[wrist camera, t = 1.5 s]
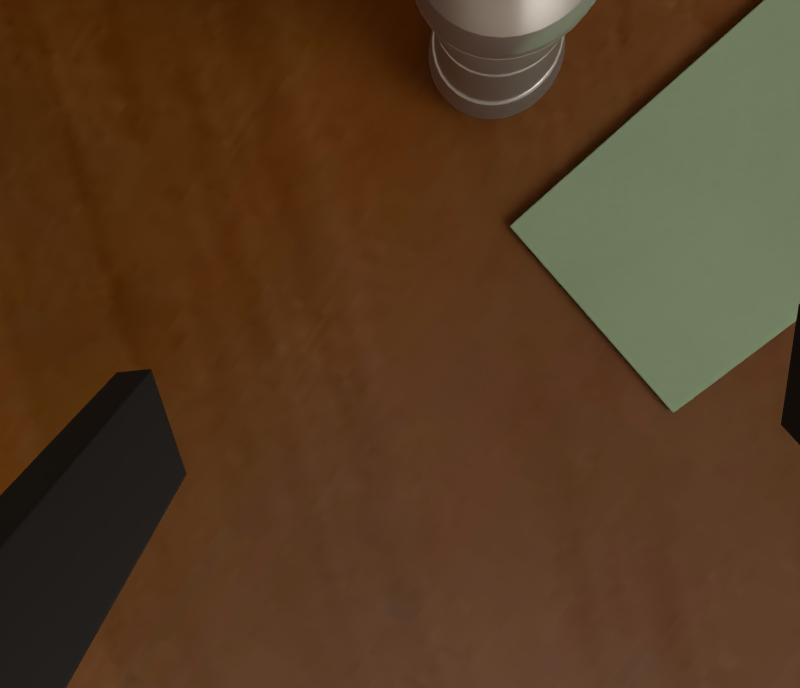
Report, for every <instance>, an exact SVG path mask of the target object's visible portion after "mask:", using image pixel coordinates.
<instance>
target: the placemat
mask: <svg viewBox="0 0 800 688" xmlns="http://www.w3.org/2000/svg"><path fill="white" fill-rule="evenodd" d="M510 228H511V229H512V230H513V231H514V232H515V233H516V234H517V236H518V237H519V238H520V239H521V240H522V241H523V242H524V244H525V245H526V246H527V247H528V248H529V249H530V250H531V252H532V253H533V254H534V255H535V256H536V257H537V258H538V260H539V261H540V262H541V263H542V264H543V265H544V266H545V268H546V269H547V270H548V271H549V272H550V273H551V274H552V276H553V277H554V278H555V279H556V280H557V281H558V282H559V284H560V285H561V286H562V287H563V288H564V289H565V290H566V292H567V293H568V294H569V295H570V296H571V297H572V298H573V300H574V301H575V302H576V303H577V304H578V305H579V306H580V308H581V309H582V310H583V311H584V312H585V313H586V314H587V316H588V317H589V318H590V319H591V320H592V321H593V322H594V324H595V325H596V326H597V327H598V328H599V329H600V330H601V332H602V333H603V334H604V335H605V336H606V337H607V338H608V340H609V341H610V342H611V343H612V344H613V345H614V346H615V348H616V349H617V350H618V351H619V352H620V353H621V354H622V356H623V357H624V358H625V359H626V360H627V361H628V362H629V364H630V365H631V366H632V367H633V368H634V369H635V370H636V372H637V373H638V374H639V375H640V376H641V377H642V378H643V380H644V381H645V382H646V383H647V384H648V385H649V386H650V388H651V389H652V390H653V391H654V392H655V393H656V394H657V396H658V397H659V398H660V399H661V400H662V401H663V402H664V404H665V405H666V406H667V407H668V408H669V409H670V410H671V411H672V412H673V413H674V412H675V411H676V410H678V409H679V408H680V407H682V406H683V405H684V404H686V403H687V402H688V401H690V400H691V399H692V398H694V397H695V396H696V395H698V394H699V393H700V392H702V391H703V390H704V389H706V388H707V387H708V386H710V385H711V384H712V383H714V382H715V381H716V380H718V379H719V378H720V377H722V376H723V375H724V374H726V373H727V372H728V371H730V370H731V369H732V368H734V367H735V366H736V365H738V364H739V363H740V362H742V361H743V360H744V359H746V358H747V357H748V356H750V355H751V354H752V353H754V352H755V351H756V350H758V349H759V348H760V347H762V346H763V345H764V344H766V343H767V342H768V341H770V340H771V339H772V338H774V337H775V336H776V335H778V334H779V333H780V332H782V331H783V330H784V329H786V328H787V327H788V326H790V325H791V324H792V323H794V322H795V321H796V319H797V312H798V306H799V304H800V0H763V1H762V2H761V3H760V4H759V5H757V6H756V7H755V8H754V9H753V10H752V11H751V12H750V13H748V14H747V15H746V16H745V17H744V18H743V19H742V20H741V21H739V22H738V23H737V24H736V25H735V26H734V27H733V28H732V29H730V30H729V31H728V32H727V33H726V34H725V35H724V36H723V37H721V38H720V39H719V40H718V41H717V42H716V43H715V44H714V45H712V46H711V47H710V48H709V49H708V50H707V51H706V52H705V53H703V54H702V55H701V56H700V57H699V58H698V59H697V60H696V61H694V62H693V63H692V64H691V65H690V66H689V67H688V68H686V69H685V70H684V71H683V72H682V73H681V74H680V75H679V76H677V77H676V78H675V79H674V80H673V81H672V82H671V83H670V84H668V85H667V86H666V87H665V88H664V89H663V90H662V91H661V92H659V93H658V94H657V95H656V96H655V97H654V98H653V99H652V100H650V101H649V102H648V103H647V104H646V105H645V106H644V107H643V108H641V109H640V110H639V111H638V112H637V113H636V114H635V115H634V116H632V117H631V118H630V119H629V120H628V121H627V122H626V123H625V124H623V125H622V126H621V127H620V128H619V129H618V130H617V131H616V132H614V133H613V134H612V135H611V136H610V137H609V138H608V139H607V140H605V141H604V142H603V143H602V144H601V145H600V146H599V147H598V148H596V149H595V150H594V151H593V152H592V153H591V154H590V155H589V156H587V157H586V158H585V159H584V160H583V161H582V162H581V163H580V164H578V165H577V166H576V167H575V168H574V169H573V170H572V171H571V172H569V173H568V174H567V175H566V176H565V177H564V178H563V179H562V180H560V181H559V182H558V183H557V184H556V185H555V186H554V187H553V188H551V189H550V190H549V191H548V192H547V193H546V194H545V195H544V196H542V197H541V198H540V199H539V200H538V201H537V202H536V203H535V204H533V205H532V206H531V207H530V208H529V209H528V210H527V211H526V212H524V213H523V214H522V215H521V216H520V217H519V218H518V219H517V220H515V221H514V222H513V223H512V224H511V225H510Z"/></svg>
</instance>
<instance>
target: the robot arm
mask: <svg viewBox="0 0 800 688" xmlns="http://www.w3.org/2000/svg"><path fill="white" fill-rule="evenodd" d="M781 425H782V426H783V427H784V428H785V429H786V430H787V432H788V433H789V434H790V435H791V436H792V437H793V438H794V439H795V440H796V441H797V442H798V444H799V445H800V304H799V306H798V312H797V319H796V326H795V333H794V340H793V346H792V353H791V360H790V367H789V374H788V380H787V387H786V394H785V401H784V408H783V414H782V421H781ZM185 476H186V471H185V469H184V466H183V463H182V460H181V457H180V454H179V451H178V448H177V445H176V442H175V439H174V436H173V433H172V430H171V427H170V424H169V421H168V418H167V415H166V412H165V409H164V406H163V403H162V400H161V397H160V394H159V392H158V389H157V386H156V383H155V380H154V377H153V374H152V371H151V369H148V370H138V371H128V372H118V373H116V374H115V375H114V376H113V377H112V378H111V379H110V380H109V381H108V382H107V384H106V385H105V386H104V387H103V388H102V389H101V390H100V391H99V392H98V393H97V394H96V395H95V396H94V397H93V398H92V399H91V400H90V401H89V403H88V404H87V405H86V406H85V407H84V408H83V409H82V410H81V411H80V412H79V413H78V414H77V415H76V416H75V417H74V418H73V419H72V421H71V422H70V423H69V424H68V425H67V426H66V427H65V428H64V429H63V430H62V431H61V432H60V433H59V434H58V435H57V436H56V437H55V439H54V440H53V441H52V442H51V443H50V444H49V445H48V446H47V447H46V448H45V449H44V450H43V451H42V452H41V453H40V454H39V455H38V456H37V458H36V459H35V460H34V461H33V462H32V463H31V464H30V465H29V466H28V467H27V468H26V469H25V470H24V471H23V472H22V473H21V474H20V476H19V477H18V478H17V479H16V480H15V481H14V482H13V483H12V484H11V485H10V486H9V487H8V488H7V489H6V490H5V491H4V492H3V493H2V495H1V496H0V688H66V687H67V685H68V683H69V682H70V680H71V678H72V676H73V674H74V673H75V671H76V669H77V667H78V666H79V664H80V662H81V660H82V658H83V657H84V655H85V653H86V651H87V650H88V648H89V646H90V644H91V642H92V641H93V639H94V637H95V635H96V634H97V632H98V630H99V628H100V626H101V625H102V623H103V621H104V619H105V618H106V616H107V614H108V612H109V611H110V609H111V607H112V605H113V603H114V602H115V600H116V598H117V596H118V595H119V593H120V591H121V589H122V587H123V586H124V584H125V582H126V580H127V579H128V577H129V575H130V573H131V571H132V570H133V568H134V566H135V564H136V563H137V561H138V559H139V557H140V555H141V554H142V552H143V550H144V548H145V547H146V545H147V543H148V541H149V540H150V538H151V536H152V534H153V532H154V531H155V529H156V527H157V525H158V524H159V522H160V520H161V518H162V516H163V515H164V513H165V511H166V509H167V508H168V506H169V504H170V502H171V500H172V499H173V497H174V495H175V493H176V492H177V490H178V488H179V486H180V484H181V483H182V481H183V479H184V477H185Z"/></svg>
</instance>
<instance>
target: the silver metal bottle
mask: <svg viewBox="0 0 800 688" xmlns="http://www.w3.org/2000/svg"><path fill="white" fill-rule="evenodd" d="M595 1H596V0H415V2H416V4H417V6H418V8H419V10H420V13H421V15H422V16H423V17H424V19H425V20H426V22H427V23H428V24H429V26H430V27H431V29H432V32H431V37H430V44H429V50H428V53H429V67H430V71H431V76H432V79H433V81H434V83H435V85H436V88H437V90H438V91H439V92H440V94H441V95H442V96H443V98H444V99H445V100H446V101H447V102H448V103H449V104H450V105H451V106H452V107H454V108H455V109H457V110H459V111H460V112H462V113H464V114H466V115H469V116H472V117H475V118H481V119H500V118H506V117H509V116H512V115H516V114H518V113H520V112H522V111H524V110H526V109H528V108H529V107H530V106H532V105H533V104H534V103H536V102H537V101H538V100H539V99H540V98H541V97H542V96H543V95H544V94H545V93H546V92H547V91H548V90H549V88H550V87H551V85H552V83H553V82H554V80H555V79H556V77H557V75H558V72H559V70H560V67H561V65H562V61H563V56H564V51H565V34H566V33H568V32H569V31H570V30H571V29H573V28H574V27H575V25H576V24H577V23H578V22H579V21H580V20H581V19H582V18H583V16H584V15H585V14H586V13H587V12H588V11H589V9H590V8H591V7H592V5H593V4H594V3H595Z"/></svg>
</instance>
